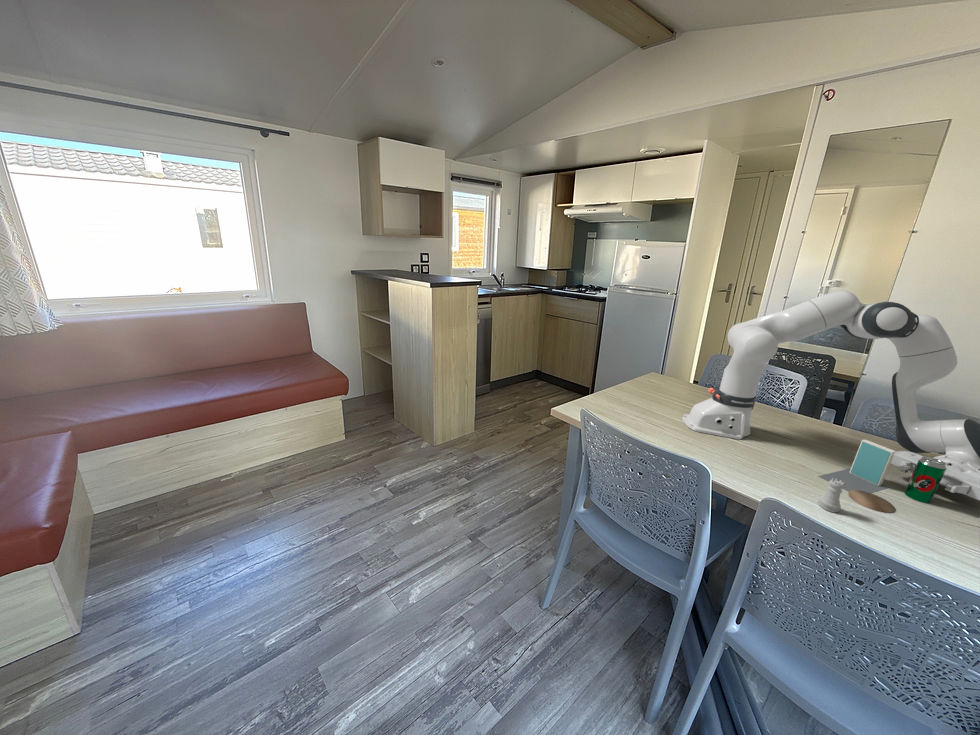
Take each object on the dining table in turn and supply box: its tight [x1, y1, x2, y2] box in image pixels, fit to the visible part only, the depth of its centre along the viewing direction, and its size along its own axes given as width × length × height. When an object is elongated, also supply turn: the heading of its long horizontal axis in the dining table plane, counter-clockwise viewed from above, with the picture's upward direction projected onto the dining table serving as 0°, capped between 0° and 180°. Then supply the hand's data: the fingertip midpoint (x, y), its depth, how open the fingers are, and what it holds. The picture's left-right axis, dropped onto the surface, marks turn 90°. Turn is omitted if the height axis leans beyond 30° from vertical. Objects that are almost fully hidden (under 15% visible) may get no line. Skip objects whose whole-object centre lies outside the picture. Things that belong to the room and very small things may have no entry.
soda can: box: [903, 455, 947, 504], centre depth 103 cm, size 5×5×12 cm
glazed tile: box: [849, 439, 897, 486], centre depth 110 cm, size 2×7×11 cm, turn 20°
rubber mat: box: [817, 468, 891, 494], centre depth 110 cm, size 15×10×1 cm, turn 110°
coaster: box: [847, 490, 896, 514], centre depth 101 cm, size 9×9×1 cm
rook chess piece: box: [817, 478, 845, 513], centre depth 98 cm, size 4×4×8 cm
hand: (925, 478), depth 103 cm, fingers open, 8 cm apart
